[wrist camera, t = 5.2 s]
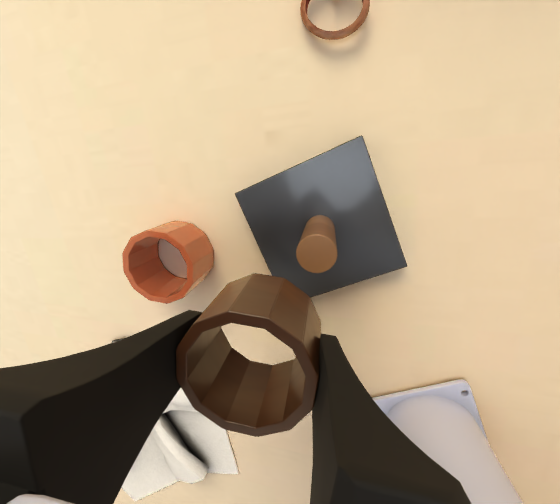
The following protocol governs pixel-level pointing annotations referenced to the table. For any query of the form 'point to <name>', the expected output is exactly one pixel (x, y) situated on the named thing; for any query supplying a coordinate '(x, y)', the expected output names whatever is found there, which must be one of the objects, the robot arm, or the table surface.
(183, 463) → the cloth
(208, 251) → the terracotta ring
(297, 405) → the walnut ring
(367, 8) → the key
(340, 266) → the peg stand
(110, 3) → the table surface
